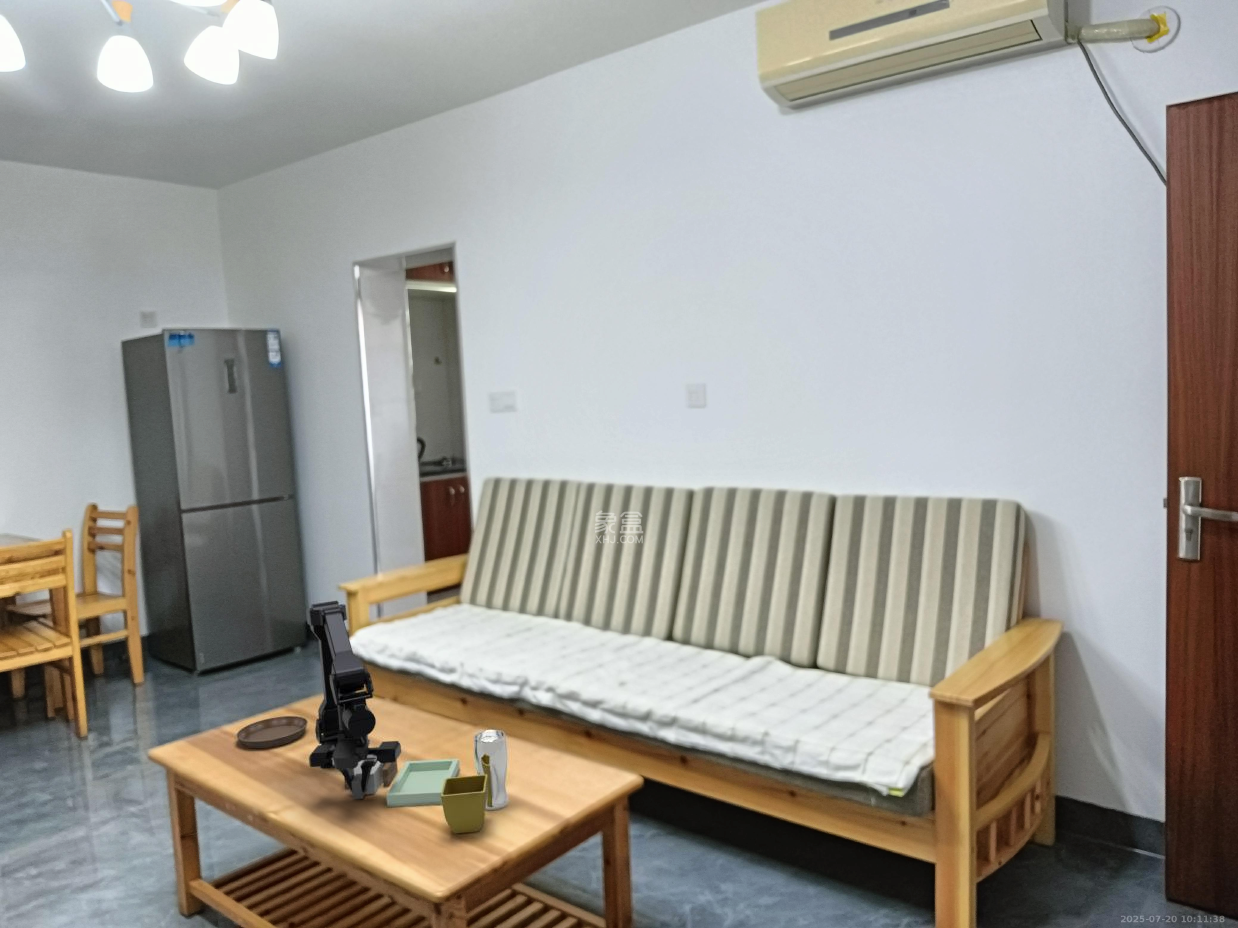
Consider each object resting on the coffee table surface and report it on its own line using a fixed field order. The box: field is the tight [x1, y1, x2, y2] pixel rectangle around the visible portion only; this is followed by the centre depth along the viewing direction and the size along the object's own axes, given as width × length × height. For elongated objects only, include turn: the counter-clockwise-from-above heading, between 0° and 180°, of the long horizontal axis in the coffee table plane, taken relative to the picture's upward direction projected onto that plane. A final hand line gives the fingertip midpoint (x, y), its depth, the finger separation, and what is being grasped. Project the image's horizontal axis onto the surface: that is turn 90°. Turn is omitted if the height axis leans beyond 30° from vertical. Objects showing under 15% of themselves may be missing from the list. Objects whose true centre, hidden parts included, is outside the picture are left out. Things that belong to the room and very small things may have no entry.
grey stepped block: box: [349, 761, 384, 800], centre depth 204 cm, size 6×12×5 cm, turn 0°
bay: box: [343, 759, 399, 790], centre depth 210 cm, size 10×8×4 cm
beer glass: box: [473, 729, 509, 811], centre depth 194 cm, size 7×7×15 cm
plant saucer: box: [236, 715, 309, 749], centre depth 241 cm, size 18×18×3 cm
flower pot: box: [441, 774, 488, 834], centre depth 184 cm, size 9×9×9 cm
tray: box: [386, 758, 461, 808], centre depth 204 cm, size 12×18×3 cm
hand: (358, 791), depth 200 cm, fingers closed on grey stepped block, 2 cm apart
